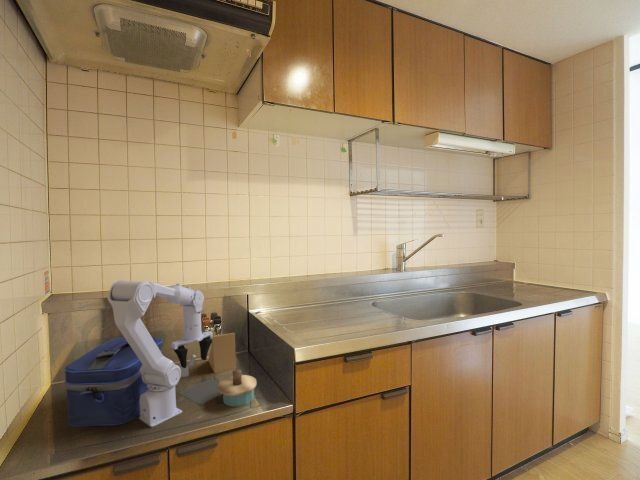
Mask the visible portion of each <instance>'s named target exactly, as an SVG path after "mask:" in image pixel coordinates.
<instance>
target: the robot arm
mask: <svg viewBox="0 0 640 480" xmlns="http://www.w3.org/2000/svg"><path fill="white" fill-rule="evenodd" d="M156 297H160V298H165V300H166V301H167V303H170V304H175V305H179V306H180V307H182V320H183V322H182V323H183V337H181V338H180V339H179V338H178V340H175V341H173V342H171V349H173V351H174V352H175V354H176V356H177V358H178V360H179V361H178V362H179V364H181V367H183V368H186V367H187V364H188V361H187V358H188V357H187V356H188V351H189V349H188V348H187V347H186V346H187V345H191V344H194V343H199V351H200V359H201V360H203V361H206V360H207V357H208V353H209V351H210V348H211V346H212V340H213V336H214V333H213V331H211V330H208V331H205V332H204V331H202V310H203V304H204V301H205V296H204V294H203V292H202V291H201V290H199V289H192V288H191V287H190V286H182V284H181V283H175V284H173V285H170V286H167V285H163V284H160V283H157V282H154V281H146V280H145V281H133V280H132V281H131V280H128V281H127V280H123V279H122V280H120V279H119V280H117V281H115V282H113V283H112V285H111V287H110V289H109V292H108V295H107V299H106V300H107V301H108V302H109V303H110V305H111V307H112V312H113V317H114V323H115V326H116V327H117V329H118V330H119V331H120V333H121V334H122V336H123V337H125V339H126V340H127V342H128V343H129V345H130V346H131V348H132V349H133V351H134V352H135V354H136V355H137V357H138V358H139V360H140V361H141V363H142V366H141V368H140V372H141V374H142V380H143V382H144V383H145V384H147V388H149V389H148V390H147V391H146V392H144V393H143V394H141V395H140V414H139V417H138V419H139V420H141V421H142V422H143V423H145V424H146V425H148V426H149V427H151V428H154V427H156V426H157V425H160V424H161V423H163V422H165V421H167V420H170V419H171V418H174V417H176V416H177V415H179V414H182V413H183V410H181V409H180V408H178V407H177V397H176V396H177V395H176V386H177V385H178V383H179V382H180V379H181V378H180V376H181V369H180V367H179V366H178V365H179V364H178V365H177V364H176V363H174V361H173V360H171V359H169V358H167V357H166V356H164V354H163V353H162V351H161V352H160V350H159V348H158V347H157V345H156V343H155V342H154V340H153V338H154V337H152V335H151V334H150V332H149V330H148V329H147V326H145V324H144V322H143V320H142V317H143V316H144V315H145V313H146V312H147V309H148V308H149V305H150V304H151V302H152V300H153V299H155V298H156Z"/></svg>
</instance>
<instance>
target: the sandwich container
mask: <svg viewBox="0 0 640 480" xmlns="http://www.w3.org/2000/svg"><path fill="white" fill-rule="evenodd" d="M209 351H210V352H209V355H208V359H207V361H208V364H209V366H210V367H211V369H212V371H213V373H214V374H216V373H222V372H227V371H232V370H236V333H235V332H231V333H225V334H224V333H223V334H219V335H213V337H212V343H211V345H210V349H209Z"/></svg>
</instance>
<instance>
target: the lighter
mask: <svg viewBox="0 0 640 480" xmlns="http://www.w3.org/2000/svg"><path fill="white" fill-rule="evenodd" d="M196 359H197V354H193V353H192V355H191V357H190V359H189V362H188V363H187V367H186V368H183V367H181V364H180V363H179V364H178V366H179V367H180V369H181V376H180V379H181V378H185V377H189V376H190V373H189V371H190V370H189V367H191V368H192V367H193V365H194V363H195V361H196Z"/></svg>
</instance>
